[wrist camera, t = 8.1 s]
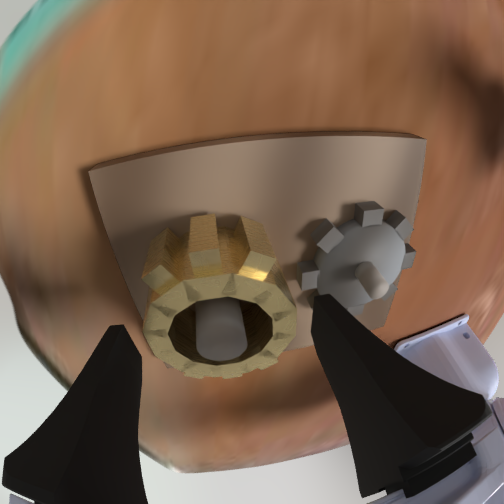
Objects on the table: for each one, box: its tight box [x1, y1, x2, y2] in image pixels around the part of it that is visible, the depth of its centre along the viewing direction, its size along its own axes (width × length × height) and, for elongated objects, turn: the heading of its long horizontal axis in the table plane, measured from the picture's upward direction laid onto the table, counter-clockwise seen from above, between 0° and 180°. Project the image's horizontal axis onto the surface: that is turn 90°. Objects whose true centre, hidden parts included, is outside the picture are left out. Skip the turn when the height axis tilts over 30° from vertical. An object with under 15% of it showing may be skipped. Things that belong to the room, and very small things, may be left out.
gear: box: [141, 213, 297, 379], centre depth 11 cm, size 6×7×3 cm
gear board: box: [88, 131, 427, 368], centre depth 12 cm, size 14×12×4 cm
